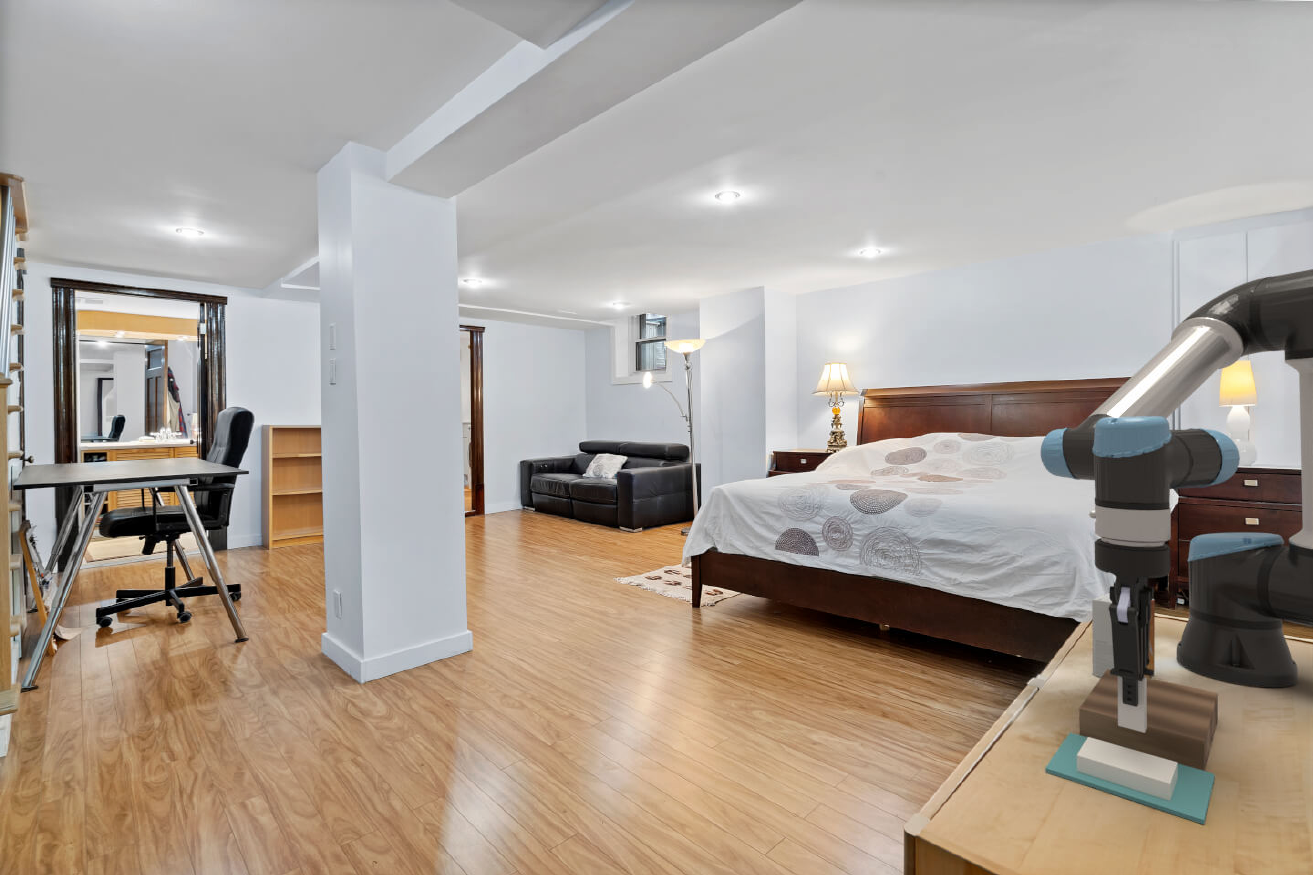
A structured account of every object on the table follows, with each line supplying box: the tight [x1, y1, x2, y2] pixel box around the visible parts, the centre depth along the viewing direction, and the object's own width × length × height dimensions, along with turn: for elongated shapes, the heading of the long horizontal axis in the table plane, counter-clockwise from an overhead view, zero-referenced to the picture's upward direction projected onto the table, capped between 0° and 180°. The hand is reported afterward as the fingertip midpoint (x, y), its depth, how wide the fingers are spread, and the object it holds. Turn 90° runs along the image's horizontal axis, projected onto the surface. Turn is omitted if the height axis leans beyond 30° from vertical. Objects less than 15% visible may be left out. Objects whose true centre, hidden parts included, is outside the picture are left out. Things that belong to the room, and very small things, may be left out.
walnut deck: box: [1078, 669, 1219, 771], centre depth 88 cm, size 18×13×4 cm
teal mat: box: [1044, 732, 1216, 825], centre depth 78 cm, size 12×15×1 cm
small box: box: [1091, 592, 1156, 678], centre depth 106 cm, size 8×6×13 cm
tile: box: [1077, 737, 1178, 801], centre depth 77 cm, size 6×9×2 cm, turn 44°
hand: (1132, 726), depth 79 cm, fingers closed
